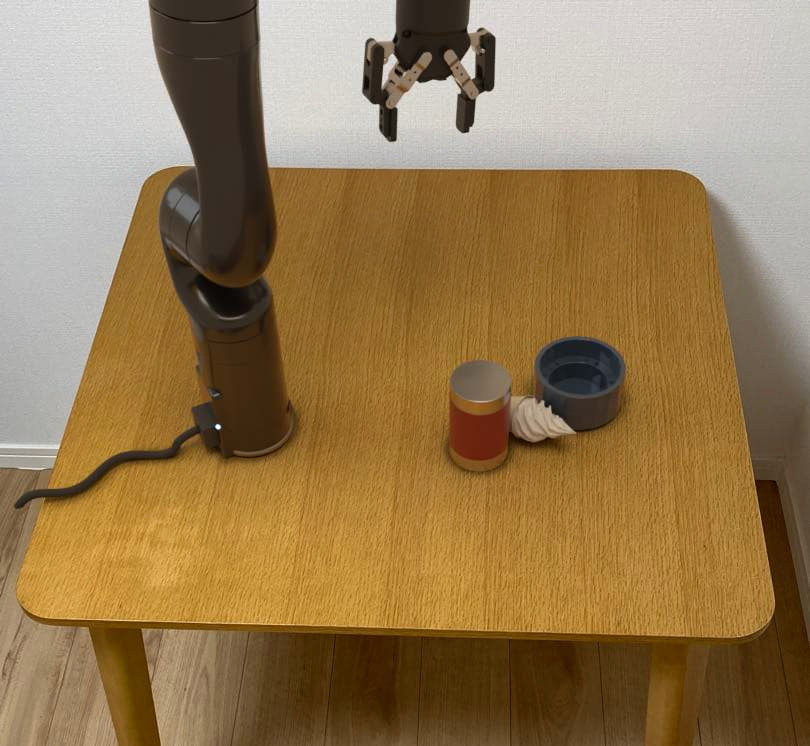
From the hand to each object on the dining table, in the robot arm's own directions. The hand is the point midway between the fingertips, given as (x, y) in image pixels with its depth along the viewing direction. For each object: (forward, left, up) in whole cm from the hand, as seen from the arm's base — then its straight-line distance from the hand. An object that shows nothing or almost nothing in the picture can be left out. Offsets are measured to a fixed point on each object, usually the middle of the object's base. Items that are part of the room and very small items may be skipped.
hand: (426, 134), depth 129 cm
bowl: (+9, -20, -27) cm, 35 cm away
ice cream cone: (-2, -15, -26) cm, 30 cm away
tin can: (-5, -22, -27) cm, 35 cm away
